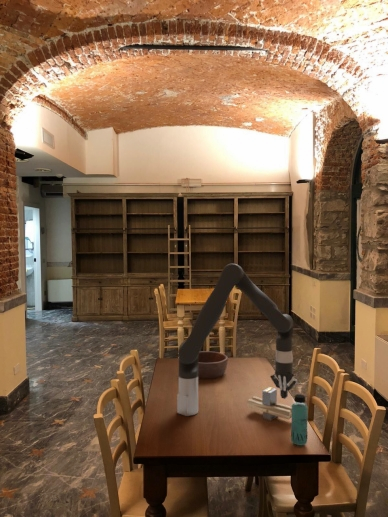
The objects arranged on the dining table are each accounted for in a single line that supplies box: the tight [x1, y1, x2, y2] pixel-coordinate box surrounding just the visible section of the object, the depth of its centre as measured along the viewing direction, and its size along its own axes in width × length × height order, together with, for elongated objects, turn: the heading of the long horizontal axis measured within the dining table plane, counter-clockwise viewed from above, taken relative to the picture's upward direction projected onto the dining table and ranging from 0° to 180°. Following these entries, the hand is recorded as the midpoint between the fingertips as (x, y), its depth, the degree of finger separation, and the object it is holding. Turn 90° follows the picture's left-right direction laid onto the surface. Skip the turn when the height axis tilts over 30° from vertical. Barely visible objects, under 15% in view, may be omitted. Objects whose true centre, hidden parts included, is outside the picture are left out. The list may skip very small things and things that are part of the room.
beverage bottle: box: [290, 393, 309, 446], centre depth 165 cm, size 6×7×20 cm
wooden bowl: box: [198, 350, 229, 380], centre depth 250 cm, size 25×25×10 cm
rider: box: [261, 386, 278, 406], centre depth 191 cm, size 6×4×8 cm, turn 141°
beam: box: [246, 395, 292, 422], centre depth 190 cm, size 7×21×6 cm, turn 51°
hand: (284, 397), depth 186 cm, fingers closed
